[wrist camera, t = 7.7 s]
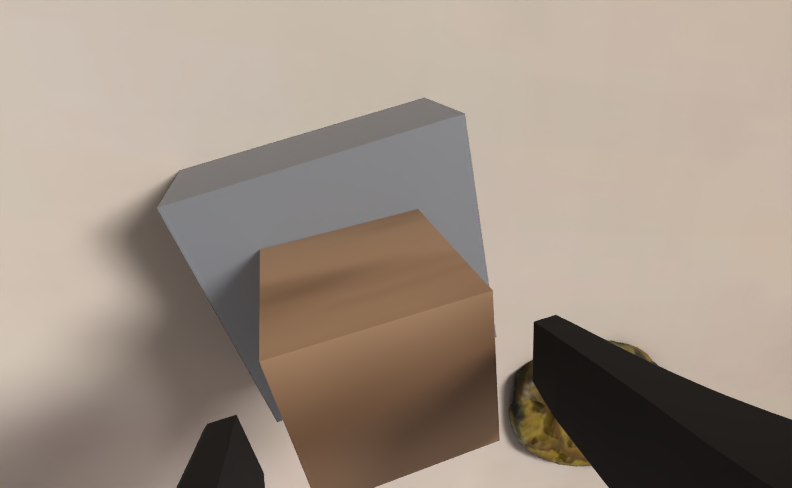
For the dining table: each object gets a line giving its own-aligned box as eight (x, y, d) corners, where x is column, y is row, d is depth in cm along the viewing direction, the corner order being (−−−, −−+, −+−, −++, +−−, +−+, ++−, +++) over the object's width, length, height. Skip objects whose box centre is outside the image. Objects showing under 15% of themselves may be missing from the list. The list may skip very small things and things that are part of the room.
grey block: (456, 285, 20) (496, 337, 17) (274, 352, 19) (277, 422, 16) (421, 96, 16) (464, 113, 12) (181, 167, 15) (156, 208, 11)
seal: (457, 414, 26) (602, 455, 32) (486, 491, 22) (645, 520, 29) (560, 306, 23) (698, 376, 29) (616, 373, 19) (761, 436, 25)
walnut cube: (434, 329, 16) (499, 440, 11) (302, 371, 15) (319, 507, 11) (417, 208, 13) (492, 290, 9) (259, 249, 12) (259, 361, 8)
